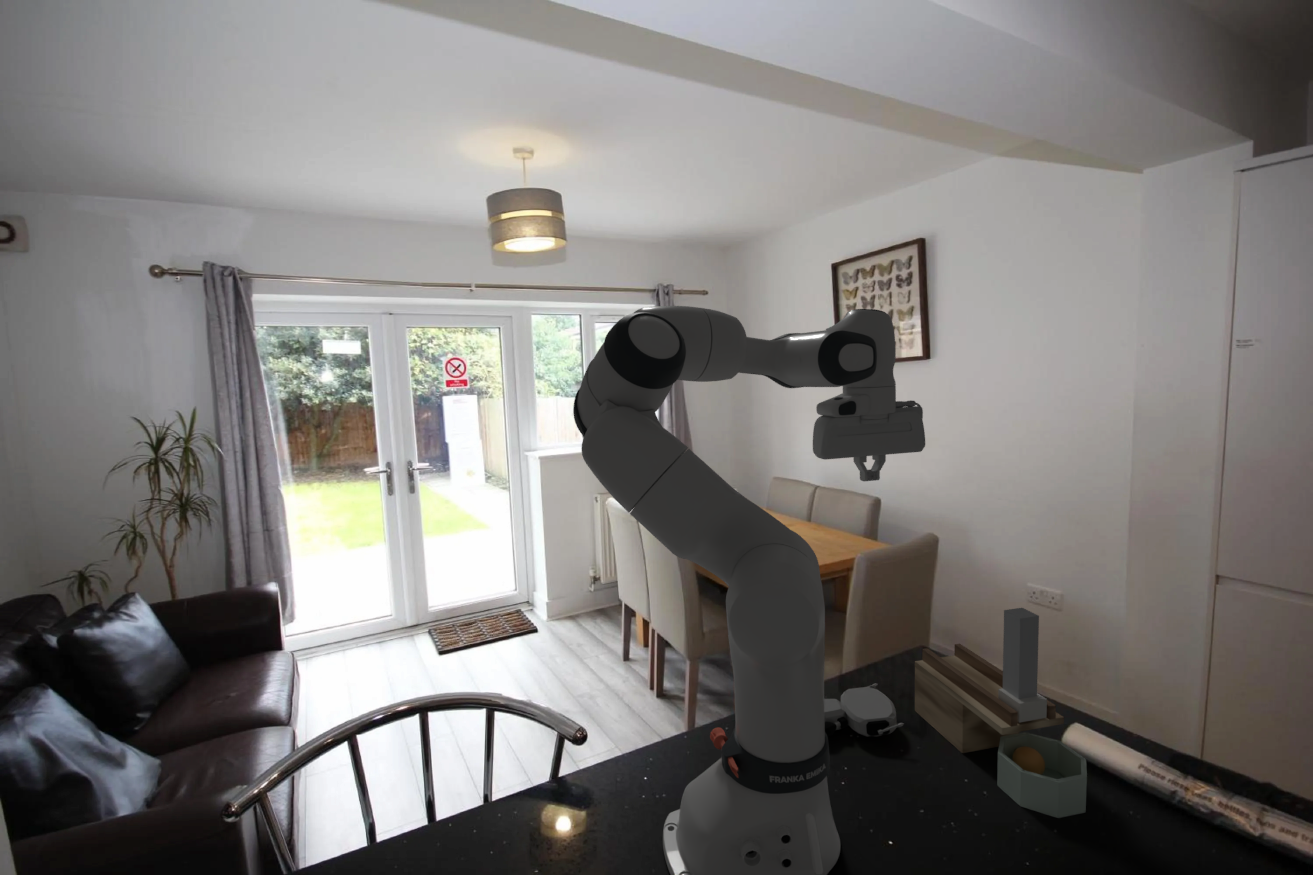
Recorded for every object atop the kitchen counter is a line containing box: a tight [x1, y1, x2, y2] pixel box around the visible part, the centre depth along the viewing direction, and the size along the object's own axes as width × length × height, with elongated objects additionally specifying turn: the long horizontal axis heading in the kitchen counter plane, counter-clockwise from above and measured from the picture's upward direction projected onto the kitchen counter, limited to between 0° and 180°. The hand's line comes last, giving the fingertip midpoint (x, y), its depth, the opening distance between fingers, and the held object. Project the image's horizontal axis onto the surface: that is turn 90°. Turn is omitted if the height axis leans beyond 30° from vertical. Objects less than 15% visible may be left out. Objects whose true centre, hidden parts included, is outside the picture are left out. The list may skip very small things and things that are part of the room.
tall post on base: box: [998, 607, 1048, 723], centre depth 86 cm, size 4×4×15 cm
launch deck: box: [914, 643, 1065, 754], centre depth 95 cm, size 10×20×11 cm, turn 11°
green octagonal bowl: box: [996, 731, 1088, 819], centre depth 84 cm, size 10×10×5 cm
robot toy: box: [824, 683, 905, 738], centre depth 101 cm, size 12×4×15 cm
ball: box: [1012, 746, 1045, 775], centre depth 86 cm, size 4×4×4 cm
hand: (869, 480), depth 108 cm, fingers closed
